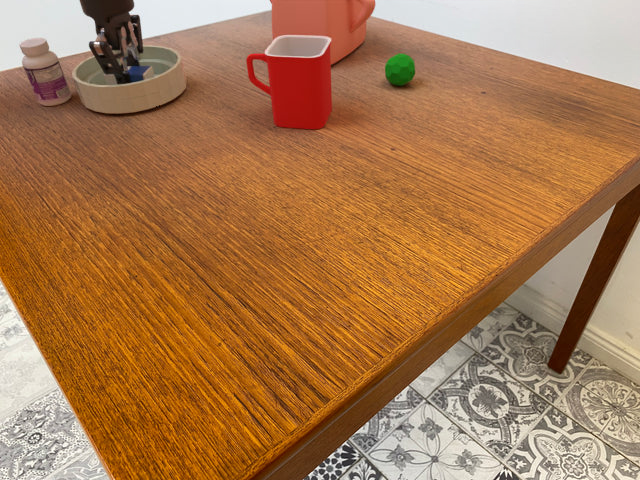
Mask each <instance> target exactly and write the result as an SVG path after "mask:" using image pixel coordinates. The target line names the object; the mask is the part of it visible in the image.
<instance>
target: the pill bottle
mask: <svg viewBox="0 0 640 480" xmlns="http://www.w3.org/2000/svg"><path fill="white" fill-rule="evenodd" d="M18 46H19V48H20V51H21V53H22V54H23V55H24V56H23V57H22V59H21V64H22V67H23V69H24V72H25V74H26V76H27V79H28V81H29V84H30V86H31V88H32V91H33V93H34V95H35V98H36V100H37V103H39V104H40V105H41V106H45V107H53V106H58V105H62V104H65V103H67V102H68V101H69V100H70V99H71V98H72V91H71V89H70V87H69V83H68V81H67V79H66V76H65V73H64V69H63V68H62V65H61V62H60V60H59V57H58V55H57V54H56V53H55V52H54V51H52V50H50V45H49V42H48V41H47V39H46V38H43V37H33V38H29V39H25V40H23V41H21V42H20V43H19V45H18Z"/></svg>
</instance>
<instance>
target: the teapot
mask: <svg viewBox="0 0 640 480" xmlns="http://www.w3.org/2000/svg"><path fill="white" fill-rule="evenodd" d="M269 2H270V4H271V36H272V41H273V40H274V39H275V38H277V37H278V36H282V35H307V36H326V37H329V38H331V45H330V61H331V65H334V64H336V63H337V62H339V61H341V60H342V59H344V58H345V57H346V56H348V55H350V54H351V53H352V52H354V51H355V50H356V49H357V48H359V47H360V46H361V45H362V44H363V43H364V42H365V39H366V34H367V20H369V18H370V17H371V16H372V15H373V13H374V11H375V8H376V0H269Z"/></svg>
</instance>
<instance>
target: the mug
mask: <svg viewBox="0 0 640 480" xmlns="http://www.w3.org/2000/svg"><path fill="white" fill-rule="evenodd" d="M330 45H331V38H329V37H326V36H307V35H282V36H278V37H277V38H275V39H274V40H273V39H272V41H271V43H270V44H269V45H268V46H267V48H265V50H264V53H249V54H248V55H247V57H246V61H245V62H246V69H247V77H248V79H249V82H250V83H251V84H252V85H254V86H255V87H257V88H258V89H259V90H261V91H262V92H264V93H266V94H267V95H269V96H270V101H271V108H272V109H271V111H272V117H273V124H274V125H275V126H276V127H279V128H284V129H285V128H286V129H301V130H302V129H303V130H319V129H322V128H323V127H325V126H326V124H327V122H328V120H329V118H330V115H331V113H332V111H333V101H332V100H333V99H332V98H333V97H332V93H333V91H332V67H331V61H330ZM254 60H258V61H262V62H264V63H266V65H267V74H268V75H267V76H268V80H269V81H268V83H269V85H266V84H265V83H263V82H262V81H260V80H259V79H258V78H257V76H256V75H255V69H254Z"/></svg>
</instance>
